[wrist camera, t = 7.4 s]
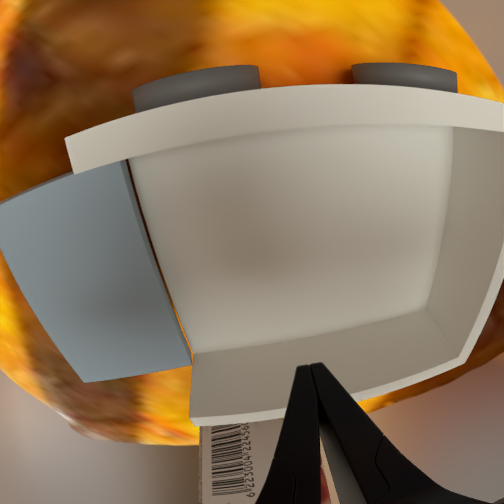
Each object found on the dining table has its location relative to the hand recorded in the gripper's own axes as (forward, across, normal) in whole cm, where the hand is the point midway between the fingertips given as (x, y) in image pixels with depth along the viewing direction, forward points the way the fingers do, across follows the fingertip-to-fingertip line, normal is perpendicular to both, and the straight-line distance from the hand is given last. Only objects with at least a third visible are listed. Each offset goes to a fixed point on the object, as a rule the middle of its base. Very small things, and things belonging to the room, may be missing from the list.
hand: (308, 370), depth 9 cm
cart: (+12, -2, 0) cm, 12 cm away
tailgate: (+7, +6, 0) cm, 10 cm away
